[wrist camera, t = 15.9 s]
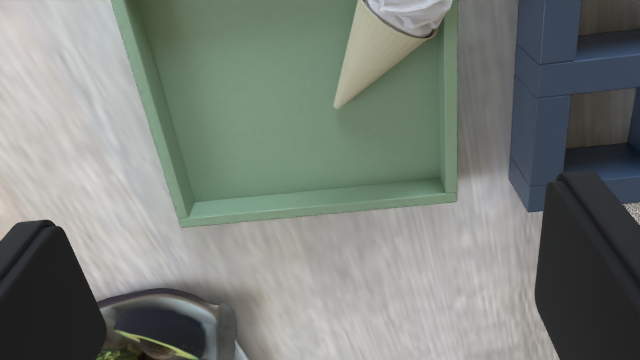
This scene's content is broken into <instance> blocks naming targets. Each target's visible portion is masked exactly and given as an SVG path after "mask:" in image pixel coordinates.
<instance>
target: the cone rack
mask: <svg viewBox="0 0 640 360" xmlns="http://www.w3.org/2000/svg"><path fill="white" fill-rule="evenodd" d="M581 6H582V0H519V5H518V23H517V41H516V42H517V44H516V57H515V75H514V93H513V111H512V129H511V146H510V163H509V180H510V182H511V184H512V185H513V187H514V189H515V191H516V192H517V194H518V196H519V198H520V199H521V201H522V203H523V205H524V206H525V208H526V210H527V212H539V211H544V202H545V193H546V187H547V184H548V183H549V182H556V178H557V176H558V175H559V174H560V173H569V172H580V171H594V172H595V173H597V175H598V176H599V177H600V178H601V179H602V181H603V182H604V183H605V184H606V185H607V187H608V188H609V189H610V190H611V191H612V193H613V194H614V195H615V196H616V198H617V199H618V200H619V201H620V202H621V204H627V203H638V202H640V29H637V30H628V31H619V32H611V33H602V34H594V35H585V36H578V33H579V24H580V15H581ZM635 87H637V91H636V97H635V103H634V108H633V114H632V120H631V125H630V131H629V137H628V143H623V144H613V145H603V146H593V147H583V148H573V149H566V141H567V132H568V123H569V114H570V105H571V96H572V95H571V94H579V93H589V92H598V91H607V90H617V89H626V88H635Z"/></svg>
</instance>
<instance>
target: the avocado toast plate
mask: <svg viewBox="0 0 640 360" xmlns="http://www.w3.org/2000/svg"><path fill="white" fill-rule="evenodd" d="M97 304H98V307H99V309H100V311H101V313H102V315H103V318H104V320H105V322H106V326H107V335H106V340H105V342H104V345H103V347H102V349H101V351H100V353H99V355H98V357H97V359H96V360H249V359H248V357H247V356H246V354H245V353H244V351H243V349H242V348H241V346H240V345H239V343H238V341H237V340H236V338H237V320H236V315H235V311H234V310H233V309H231V308H230V307H229V306H228V305H227V304H226V303H225V302H224V303H222V304H220V305H214V304H210V303H207V302H206V301H204V300H203V299H201V298H199V297H197V296H195V295H192V294H189V293H186V292H183V291H179V290H174V289H150V290H145V291H140V292H134V293H130V294H125V295H120V296H116V297H111V298H107V299H105V300H102V301H99V302H97Z"/></svg>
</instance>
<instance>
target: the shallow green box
mask: <svg viewBox="0 0 640 360" xmlns="http://www.w3.org/2000/svg"><path fill="white" fill-rule="evenodd" d="M357 2H358V0H111V4H112V7H113V10H114V13H115V17H116V20H117V23H118V26H119V29H120V33H121V36H122V39H123V42H124V46H125V49H126V52H127V55H128V59H129V62H130V65H131V68H132V72H133V75H134V78H135V81H136V85H137V88H138V91H139V94H140V98H141V101H142V104H143V107H144V110H145V114H146V117H147V120H148V123H149V127H150V130H151V133H152V136H153V140H154V143H155V146H156V149H157V153H158V156H159V159H160V162H161V166H162V169H163V172H164V175H165V179H166V182H167V185H168V188H169V192H170V195H171V198H172V201H173V204H174V208H175V211H176V214H177V217H178V221H179V224H180V227H181V228H184V227H195V226H206V225H216V224H227V223H238V222H248V221H259V220H270V219H281V218H291V217H302V216H313V215H323V214H334V213H345V212H355V211H366V210H377V209H387V208H398V207H409V206H420V205H430V204H441V203H452V202H457V167H458V0H453V1H452V5H451V8H450V10H448V11H447V12H446V14H445V16H444V17H443V19H442V21H441V23H440V25H439V26H438V32H437V34H436V35H435V36H434V37H433V38H431V39H428V40H426V41H425V42H423V43H422V44H421V45H420V46H418V47H417V48H416V49H414V50H413V51H412V52H411V53H409V54H408V55H407V56H406V57H404V58H403V59H402V60H401V61H400V62H398V63H397V64H396V65H395V66H393V67H392V68H391V69H389V70H388V71H387V72H386V73H384V74H383V75H382V76H381V77H379V78H378V79H377V80H376V81H374V82H373V83H372V84H370V85H369V86H368V87H367V88H365V89H364V90H363V91H362V92H360V93H359V94H358V95H357V96H355V97H354V98H353V99H351V100H350V101H349V102H348V103H346V104H345V105H344V106H343V107H341V108H340V109H336V108H334V106H333V104H334V100H335V96H336V92H337V87H338V83H339V79H340V74H341V70H342V66H343V61H344V57H345V53H346V48H347V44H348V40H349V37H350V32H351V28H352V24H353V19H354V15H355V11H356V6H357Z"/></svg>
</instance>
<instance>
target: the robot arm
mask: <svg viewBox="0 0 640 360" xmlns="http://www.w3.org/2000/svg"><path fill="white" fill-rule="evenodd" d="M535 301H536V306H537V309H538V312H539V314H540V316H541V319H542V321H543V323H544V325H545V327H546V330H547V332H548V334H549V336H550V339H551V341H552V343H553V345H554V348H555V350H556V352H557V354H558V356H559V359H560V360H640V225H639V224H638V223H637V222H636V220H635V219H634V218H633V217H632V216H631V214H630V213H629V212H628V211H627V210H626V208H625V207H624V206H623V205H622V204H621V202H620V201H619V200H618V199H617V198H616V196H615V195H614V194H613V193H612V191H611V190H610V189H609V188H608V187H607V185H606V184H605V183H604V182H603V181H602V179H601V178H600V177H599V176H598V175H597V173H595V172H594V171H580V172H569V173H560V174H559V175H558V176H557V178H556V182H549V183H548V184H547V187H546V193H545V202H544V211H543V220H542V229H541V238H540V247H539V256H538V265H537V274H536V283H535ZM106 335H107V326H106V322H105V320H104V318H103V315H102V313H101V311H100V309H99V307H98V304H97V302H96V300H95V298H94V295H93V293H92V291H91V289H90V287H89V284H88V282H87V280H86V278H85V276H84V273H83V271H82V269H81V267H80V264H79V262H78V260H77V258H76V256H75V253H74V251H73V249H72V247H71V245H70V242H69V240H68V238H67V236H66V234H65V232H64V230H63V229H62V228H61V227H59V226H56V225H55V224H54V223H53V222H52V221H50V220H38V221H27V222H20V223H17V224H16V225H14V226H13V227H12V229H11V230H10V231H9V232H8V233H7V234H6V235H5V237H4V238H3V239H2V240H1V241H0V360H96V359H97V357H98V355H99V353H100V351H101V349H102V347H103V345H104V342H105V340H106Z"/></svg>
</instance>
